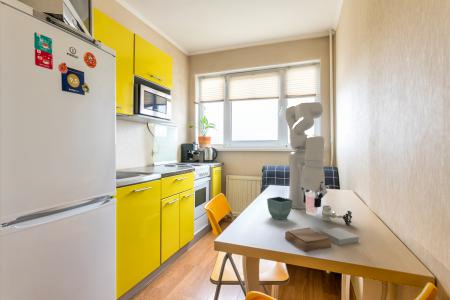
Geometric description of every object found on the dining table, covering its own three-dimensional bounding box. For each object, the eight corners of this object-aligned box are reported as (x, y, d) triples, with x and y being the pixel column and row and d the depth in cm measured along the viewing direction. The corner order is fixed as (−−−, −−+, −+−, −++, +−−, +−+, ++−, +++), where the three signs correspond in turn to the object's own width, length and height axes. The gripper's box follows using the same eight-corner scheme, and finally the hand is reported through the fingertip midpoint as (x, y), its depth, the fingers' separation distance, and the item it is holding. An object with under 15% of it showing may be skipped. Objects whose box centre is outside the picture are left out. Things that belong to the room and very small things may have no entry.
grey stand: (320, 235, 86) (320, 230, 86) (337, 232, 89) (338, 227, 89) (339, 245, 77) (340, 239, 77) (358, 241, 80) (358, 236, 80)
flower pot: (278, 213, 112) (278, 196, 111) (292, 218, 105) (293, 200, 104) (266, 216, 106) (266, 198, 106) (280, 222, 99) (281, 202, 99)
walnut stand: (285, 238, 82) (285, 230, 82) (308, 234, 86) (308, 226, 86) (305, 251, 72) (305, 242, 72) (331, 246, 76) (331, 238, 76)
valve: (319, 220, 103) (347, 227, 95) (319, 206, 103) (347, 212, 94) (324, 217, 108) (351, 224, 99) (325, 204, 108) (352, 209, 99)
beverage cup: (306, 210, 102) (307, 180, 101) (320, 212, 98) (321, 182, 97) (302, 213, 97) (303, 182, 96) (317, 217, 93) (318, 184, 92)
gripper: (293, 162, 103) (292, 199, 104) (322, 167, 87) (319, 212, 88) (306, 161, 105) (305, 198, 107) (336, 166, 89) (334, 210, 91)
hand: (311, 204), depth 97 cm, fingers closed on beverage cup, 6 cm apart
